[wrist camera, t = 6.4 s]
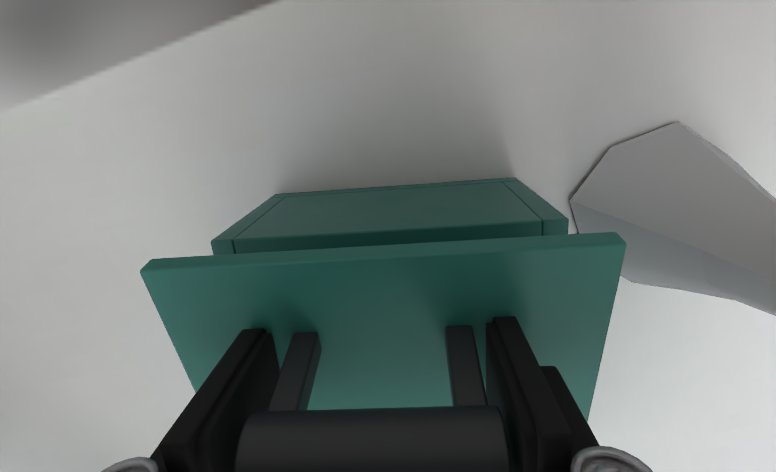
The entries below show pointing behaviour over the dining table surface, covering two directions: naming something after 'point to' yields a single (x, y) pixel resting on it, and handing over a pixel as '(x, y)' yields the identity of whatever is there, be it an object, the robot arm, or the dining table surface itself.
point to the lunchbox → (393, 217)
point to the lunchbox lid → (391, 342)
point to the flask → (684, 216)
